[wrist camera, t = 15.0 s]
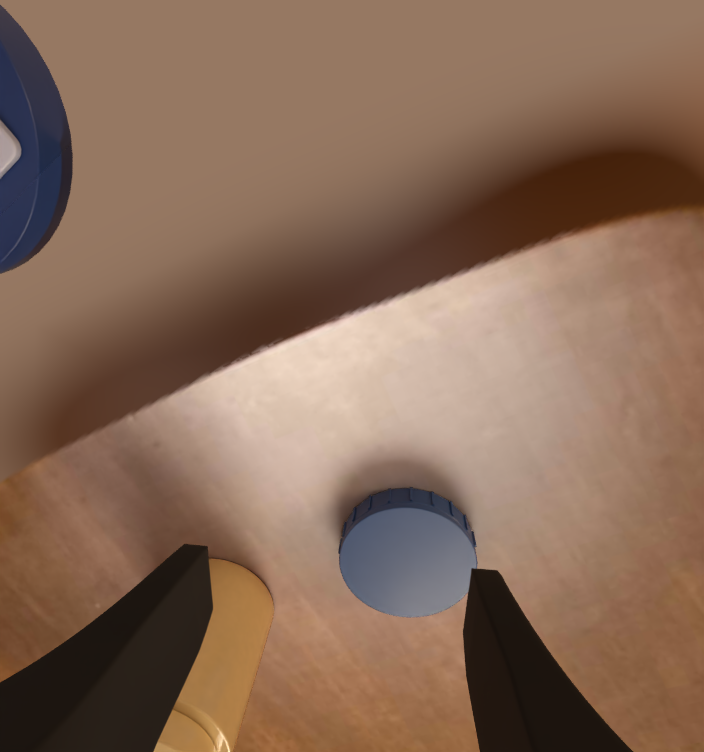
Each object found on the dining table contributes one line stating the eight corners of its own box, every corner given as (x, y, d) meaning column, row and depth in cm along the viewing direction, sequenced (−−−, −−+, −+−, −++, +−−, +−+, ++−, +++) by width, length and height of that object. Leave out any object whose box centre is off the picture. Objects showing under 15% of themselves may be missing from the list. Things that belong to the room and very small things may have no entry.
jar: (142, 590, 26) (35, 761, 19) (220, 538, 25) (137, 702, 17) (218, 660, 27) (147, 846, 20) (297, 614, 26) (252, 799, 18)
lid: (455, 605, 25) (458, 630, 23) (332, 579, 25) (327, 602, 23) (490, 502, 22) (495, 523, 21) (354, 474, 23) (351, 493, 21)
